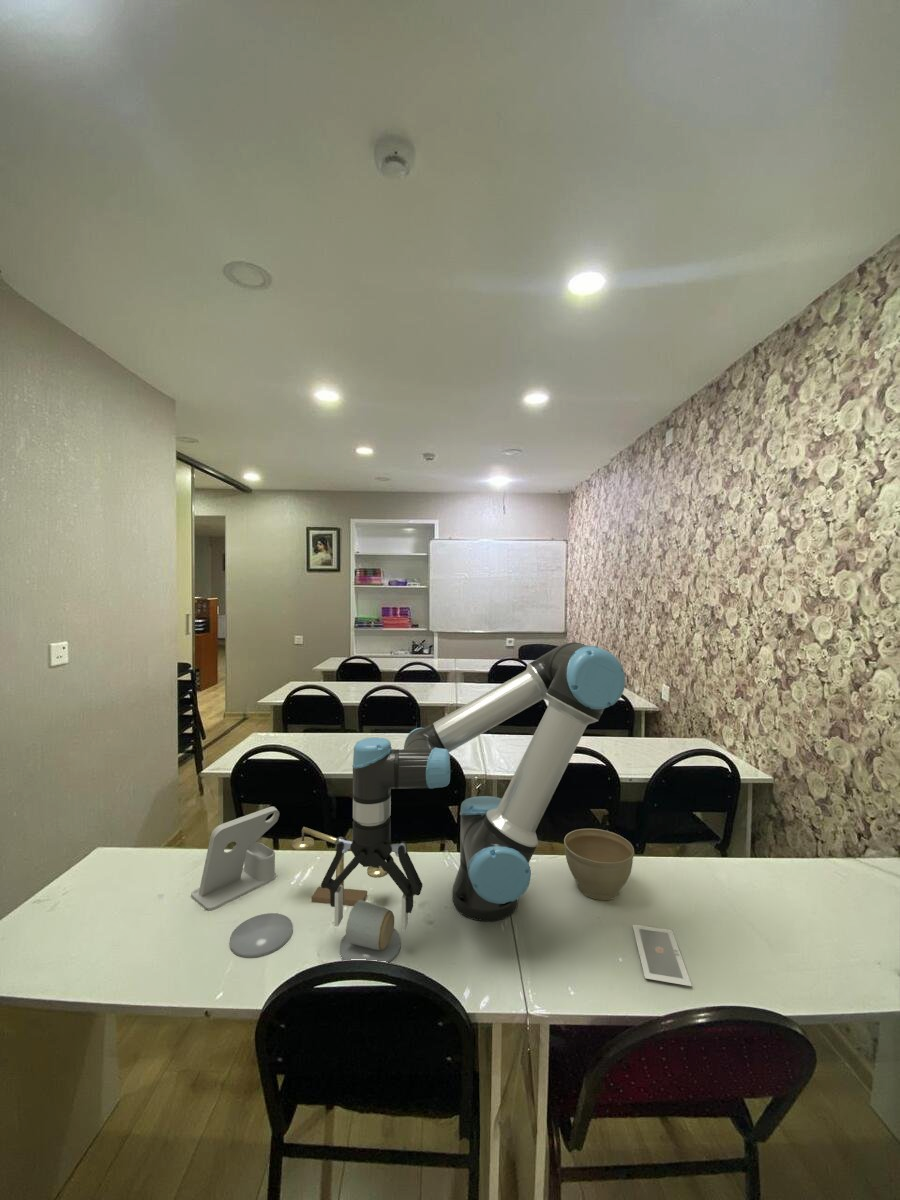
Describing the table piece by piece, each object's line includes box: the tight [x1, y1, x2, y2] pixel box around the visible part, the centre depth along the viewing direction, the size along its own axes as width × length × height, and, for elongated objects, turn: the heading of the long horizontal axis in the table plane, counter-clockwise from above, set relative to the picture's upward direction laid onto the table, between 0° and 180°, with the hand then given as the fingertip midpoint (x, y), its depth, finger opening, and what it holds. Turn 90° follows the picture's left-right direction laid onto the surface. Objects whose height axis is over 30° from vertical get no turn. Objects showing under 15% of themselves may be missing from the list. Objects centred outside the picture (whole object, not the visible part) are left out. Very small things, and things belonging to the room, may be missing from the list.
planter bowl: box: [563, 828, 635, 901], centre depth 114 cm, size 16×16×11 cm
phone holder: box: [190, 806, 280, 912], centre depth 114 cm, size 17×10×18 cm, turn 142°
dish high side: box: [229, 912, 294, 959], centre depth 97 cm, size 12×12×1 cm
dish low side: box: [339, 928, 402, 963], centre depth 94 cm, size 12×12×1 cm
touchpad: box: [632, 924, 693, 987], centre depth 93 cm, size 8×15×2 cm, turn 167°
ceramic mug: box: [345, 900, 395, 950], centre depth 96 cm, size 10×8×7 cm
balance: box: [291, 826, 389, 907], centre depth 110 cm, size 23×5×16 cm, turn 83°
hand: (371, 924), depth 94 cm, fingers open, 13 cm apart
